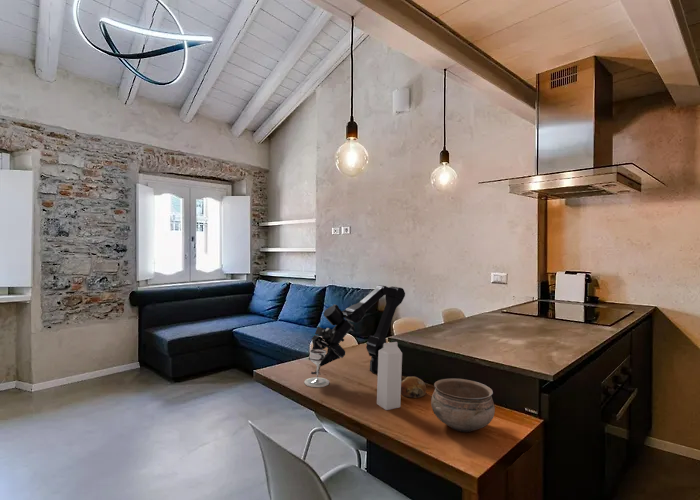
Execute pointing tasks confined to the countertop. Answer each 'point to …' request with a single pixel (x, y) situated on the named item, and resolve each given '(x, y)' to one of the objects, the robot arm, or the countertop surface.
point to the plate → (311, 384)
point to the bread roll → (413, 387)
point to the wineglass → (317, 360)
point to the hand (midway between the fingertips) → (314, 362)
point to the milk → (389, 376)
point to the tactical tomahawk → (316, 371)
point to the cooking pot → (463, 404)
